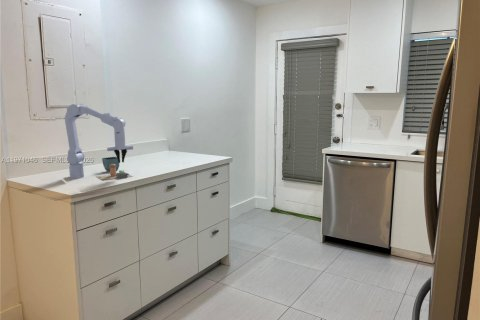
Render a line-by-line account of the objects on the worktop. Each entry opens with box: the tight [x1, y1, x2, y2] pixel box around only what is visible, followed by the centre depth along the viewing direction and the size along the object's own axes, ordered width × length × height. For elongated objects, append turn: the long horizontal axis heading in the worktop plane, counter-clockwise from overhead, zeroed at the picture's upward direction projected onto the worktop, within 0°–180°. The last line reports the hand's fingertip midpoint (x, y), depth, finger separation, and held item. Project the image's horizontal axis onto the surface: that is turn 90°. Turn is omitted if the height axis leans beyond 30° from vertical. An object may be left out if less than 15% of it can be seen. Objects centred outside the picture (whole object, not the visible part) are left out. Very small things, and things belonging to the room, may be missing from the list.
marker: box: [109, 164, 117, 176], centre depth 218 cm, size 3×3×7 cm
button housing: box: [116, 171, 129, 180], centre depth 215 cm, size 5×5×2 cm
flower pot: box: [101, 156, 120, 173], centre depth 235 cm, size 9×9×9 cm
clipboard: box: [95, 172, 134, 182], centre depth 217 cm, size 14×18×1 cm
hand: (121, 162), depth 214 cm, fingers closed
